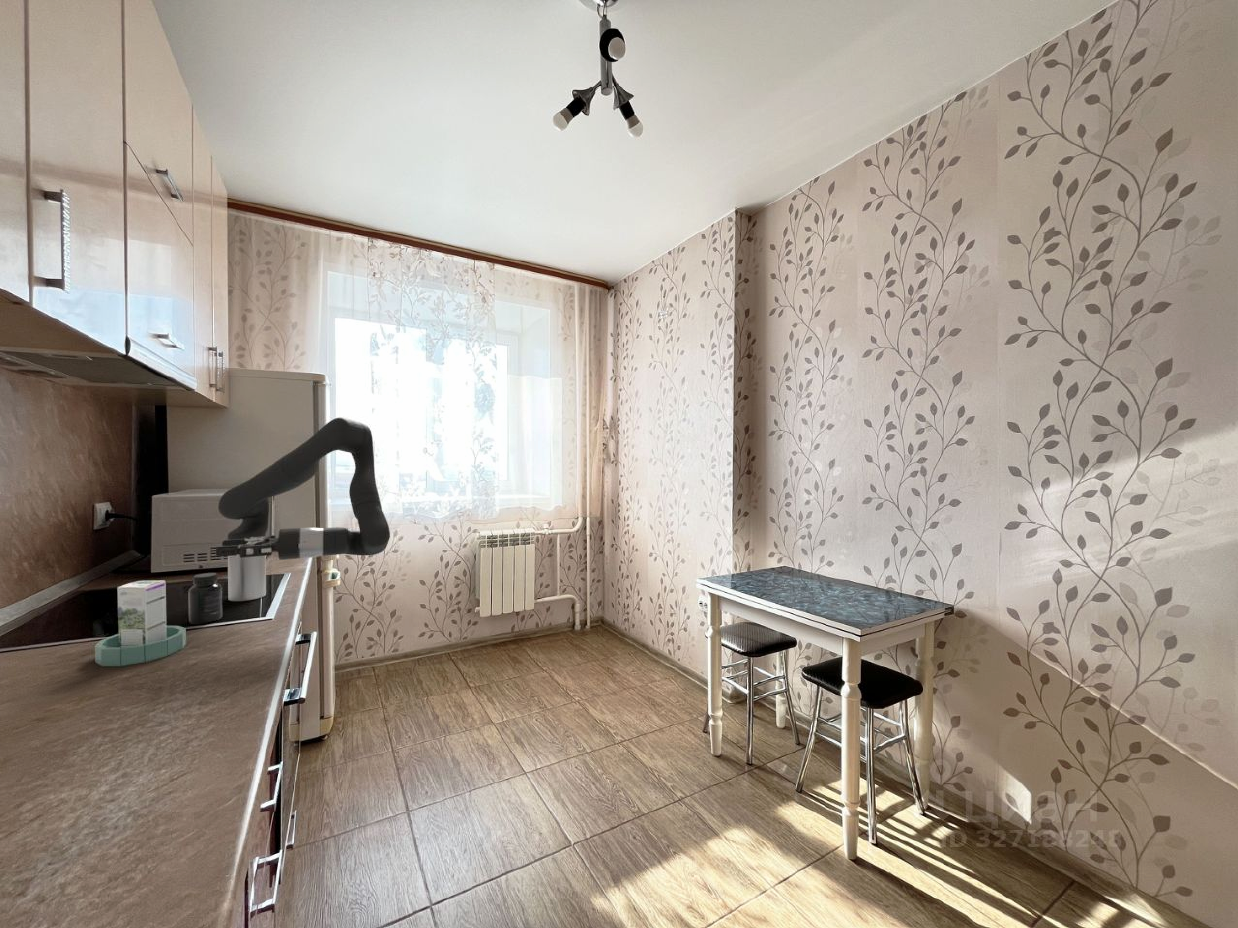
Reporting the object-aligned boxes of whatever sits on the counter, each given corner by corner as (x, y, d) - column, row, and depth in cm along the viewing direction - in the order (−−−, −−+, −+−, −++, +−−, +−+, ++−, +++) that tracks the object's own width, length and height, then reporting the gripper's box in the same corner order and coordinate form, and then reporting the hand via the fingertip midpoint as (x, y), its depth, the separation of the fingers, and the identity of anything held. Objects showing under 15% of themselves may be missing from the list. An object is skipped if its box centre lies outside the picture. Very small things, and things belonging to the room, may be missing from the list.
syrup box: (168, 643, 113) (167, 579, 113) (145, 653, 107) (144, 586, 107) (141, 643, 113) (140, 579, 112) (117, 654, 107) (115, 586, 106)
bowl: (109, 648, 112) (109, 632, 112) (190, 636, 120) (190, 621, 120) (85, 671, 100) (85, 654, 100) (177, 656, 108) (176, 640, 108)
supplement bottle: (182, 623, 129) (181, 576, 129) (210, 614, 136) (209, 570, 135) (201, 625, 127) (200, 578, 127) (228, 617, 134) (228, 572, 133)
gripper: (302, 524, 131) (224, 527, 123) (301, 532, 119) (214, 537, 111) (302, 552, 131) (224, 558, 123) (300, 563, 119) (214, 570, 111)
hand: (219, 548), depth 117 cm, fingers open, 8 cm apart
